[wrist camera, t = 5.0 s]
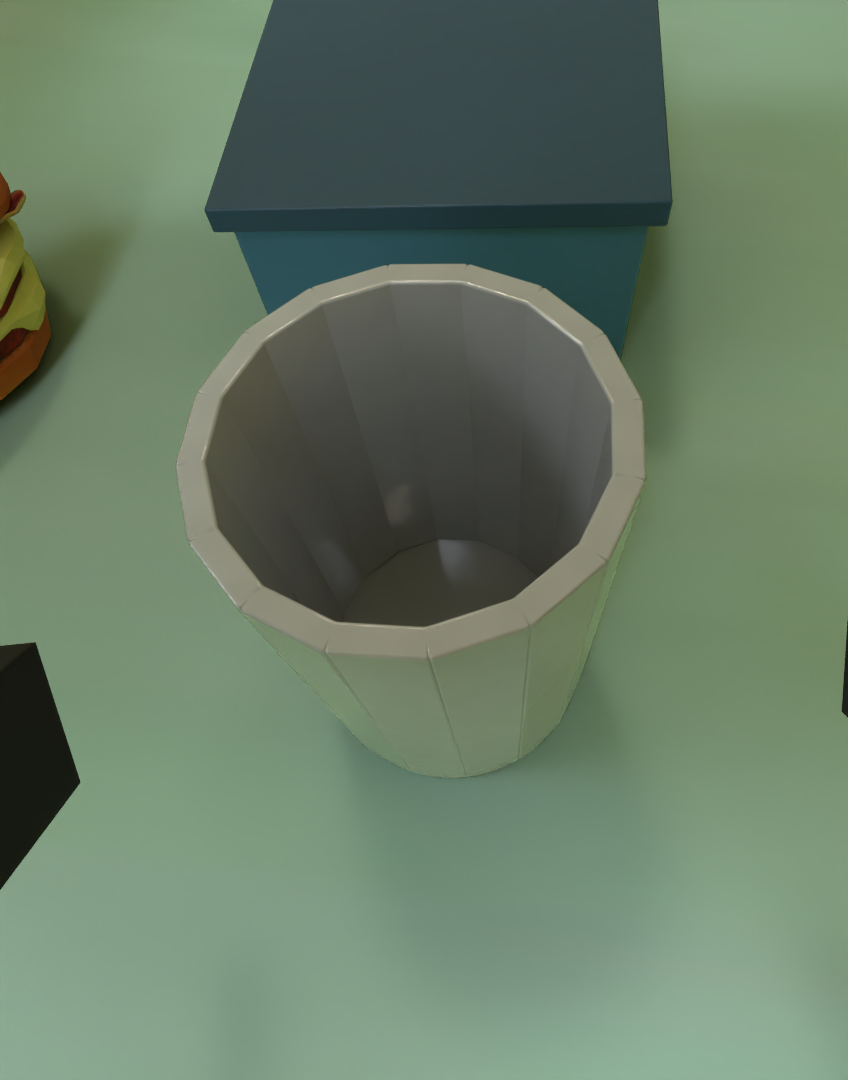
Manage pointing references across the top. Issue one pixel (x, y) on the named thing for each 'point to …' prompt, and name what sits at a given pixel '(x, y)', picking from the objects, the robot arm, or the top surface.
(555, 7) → the container
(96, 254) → the top surface
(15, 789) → the robot arm
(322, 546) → the cup
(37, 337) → the cheeseburger
